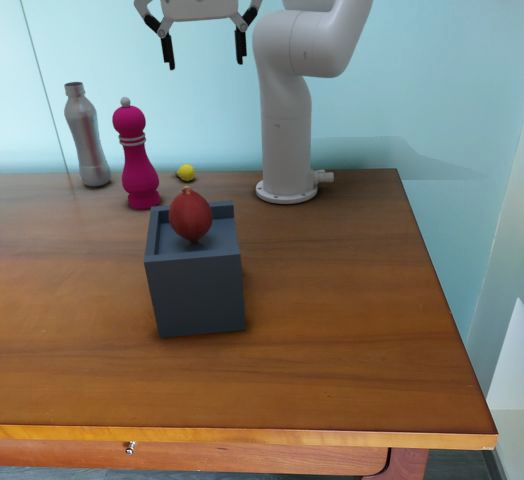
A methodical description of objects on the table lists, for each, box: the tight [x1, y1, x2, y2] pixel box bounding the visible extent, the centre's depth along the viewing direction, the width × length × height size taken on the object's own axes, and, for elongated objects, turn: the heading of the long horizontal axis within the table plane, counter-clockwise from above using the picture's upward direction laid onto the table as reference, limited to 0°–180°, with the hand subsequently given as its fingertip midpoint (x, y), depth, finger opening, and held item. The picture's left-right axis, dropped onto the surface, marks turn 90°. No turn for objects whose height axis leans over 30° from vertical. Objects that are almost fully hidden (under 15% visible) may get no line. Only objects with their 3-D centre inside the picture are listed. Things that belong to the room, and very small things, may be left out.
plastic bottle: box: [63, 81, 111, 187], centre depth 109 cm, size 6×7×20 cm
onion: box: [169, 185, 212, 243], centre depth 70 cm, size 6×6×8 cm
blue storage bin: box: [143, 200, 247, 339], centre depth 75 cm, size 12×16×12 cm
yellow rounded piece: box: [174, 163, 196, 182], centre depth 115 cm, size 3×6×4 cm, turn 43°
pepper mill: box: [111, 96, 161, 210], centre depth 100 cm, size 7×7×20 cm
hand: (206, 65), depth 75 cm, fingers open, 9 cm apart
